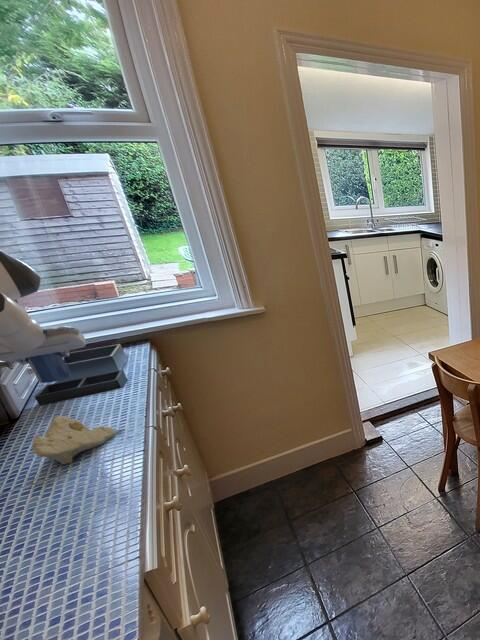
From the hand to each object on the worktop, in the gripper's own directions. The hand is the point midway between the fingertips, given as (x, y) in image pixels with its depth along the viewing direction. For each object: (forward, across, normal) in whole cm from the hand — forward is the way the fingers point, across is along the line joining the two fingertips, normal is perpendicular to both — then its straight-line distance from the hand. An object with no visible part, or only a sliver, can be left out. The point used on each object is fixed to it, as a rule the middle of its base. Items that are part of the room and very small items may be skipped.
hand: (45, 358), depth 117 cm
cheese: (-25, -9, +42) cm, 50 cm away
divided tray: (+8, -5, +9) cm, 13 cm away
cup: (+4, 0, +5) cm, 6 cm away
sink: (+23, -5, -5) cm, 24 cm away
